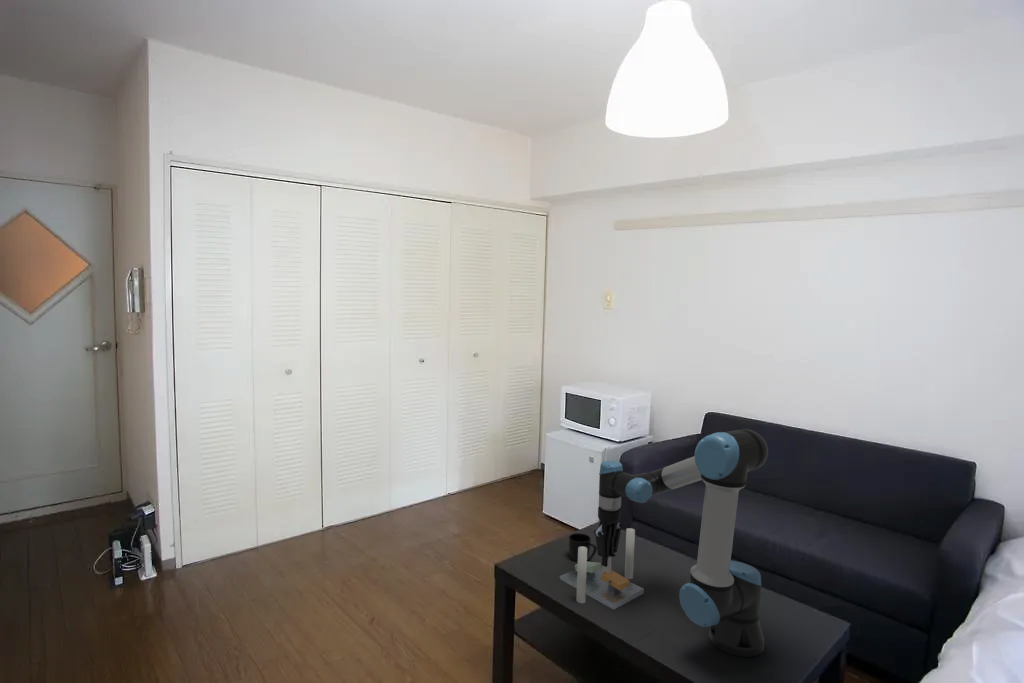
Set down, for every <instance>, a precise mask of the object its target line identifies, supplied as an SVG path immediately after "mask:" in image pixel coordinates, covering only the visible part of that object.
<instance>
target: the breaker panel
mask: <svg viewBox="0 0 1024 683" xmlns="http://www.w3.org/2000/svg"><path fill="white" fill-rule="evenodd" d="M601 575H602V569H600V570H598V571H596V572H593V573H590V572H587V573H586V596H589V597H590V598H592V599H594V600H595V601H598V602H599V603H601V604H602V605H604V606H606V607H607V608H609V609H612V610H616V609H618V608H619V607H621V606H624V605H625V604H627V603H629V602H631V601H632V600H635V599H636V598H638V597H640V596H642V595H643V594H645V593H644V591H645V588H644V587H641V586H639V585H637V584H635V583H633V582H631V581H629V586H628V587H626V588H624V589H622V590H618V589H616V588H615V587H613V586H611V585H610V584H608V583H607V582H605V581H603V580H602V579H601ZM559 580H560V581H562V582H563V583H566V584H567V585H569V586H571V587H573V588H575V589H576V590H577V571H576V569H573V570H571V571H568V572H566V573H564V574H561V575H559Z"/></svg>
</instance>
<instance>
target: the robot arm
mask: <svg viewBox="0 0 1024 683" xmlns="http://www.w3.org/2000/svg"><path fill="white" fill-rule="evenodd" d="M768 456H769V448H768V444H767V442H766V440H765V439H764V437H762V435H760V434H759V433H758V432H756V431H754V430H752V429H747V428H742V429H741V428H740V429H736V430H730V431H729V430H728V431H724V432H723V431H719V432H713V433H711V434H708V435H706V436H704V437H703V438H702V439H700V440H699V441H698V442H697V445H696V446H695V451H694V456H692V457H687V458H686V459H683V460H681V461H678V462H677V461H676V462H674V463H673V464H670V465H666V466H664V467H661V468H659V469H656V470H652V471H648V472H642V473H637V474H630V473H628V472H625V471H624V468H623V464H622V463H621V462H620V461H615V460H605V461H602V462H601V463H600V467H599V468H600V469H599V473H598V474H599V483H598V485H599V486H598V508H597V517H598V519H599V524H598V529H594V531H593V534H594V536H595V543H596V544H595V545H596V547H597V551H596V553H597V555H598V556H599V557H602V558H601V566H602V573H604V572H606V573H607V574H610V573H611V570H612V566H613V557H614V558H615V556H616V553H617V551H618V548H619V544H620V543H619V542H620V536H621V532H622V529H623V525H624V524H623V523H620V522H619V521H620V520H621V511H622V509H621V506H622V497H624V498H626V499H628V500H630V501H632V502H635V503H636V502H637V503H639V504H644V503H646V502H648V500H650V499H651V498H652V496H655V495H659V494H663V493H669V492H672V491H673V490H675V489H678V488H681V487H684V486H688V485H690V484H693V483H696V482H699V481H700V482H701V481H702V482H703V483H704V484H705V488H704V497H703V498H704V499H703V506H702V516H701V524H700V534H699V540H698V541H699V542H698V550H697V561H696V563H695V564H694V565H692V567H691V568H690V571H689V579H688V582H687V583H685V584H683V585H682V586H681V587H680V590H679V593H678V596H679V602H680V605H681V608H682V610H683V611H684V613H685V615H686V616H687V617H688V619H689V620H690V621H692V623H694V624H695V625H697V626H699V627H703V628H704V627H705V628H708V627H709V634H708V636H709V640H710V642H711V643H712V644H713V645H714V646H715V647H716V648H718V649H719V650H721V651H723V652H725V653H727V654H730V655H733V656H737V657H743V658H752V657H757V656H760V655H761V654H763V652H764V651H765V637H764V634H763V631H762V630H763V629H762V627H761V623H760V610H761V609H760V607H761V595H762V593H761V591H762V589H761V588H762V586H763V585H762V575H761V573H760V571H759V570H758V569H757V568H755V567H754V566H752V565H749V564H747V563H744V562H741V561H737V560H732V559H731V558H732V551H733V543H734V534H735V526H736V518H737V509H738V503H739V501H738V500H739V493H740V490H742V489H744V488H745V487H746V485H747V477H748V473H749V472H752V471H755V470H757V469H759V468H761V467H762V466H763V465H764V464H765V463H766V461H767V459H768Z"/></svg>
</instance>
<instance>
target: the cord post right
mask: <svg viewBox="0 0 1024 683" xmlns="http://www.w3.org/2000/svg"><path fill="white" fill-rule="evenodd" d="M625 531H626V532H625V533H626V534H625V555H624V556H625V557H624V577H625V578H626V579H628V580H633V579H634V568H635V567H634V565H635V562H634V561H635V537H636V529H634V528H632V527H630V528H628V527H627V528H626V529H625Z"/></svg>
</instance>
